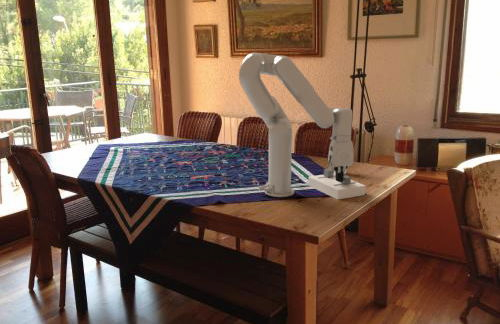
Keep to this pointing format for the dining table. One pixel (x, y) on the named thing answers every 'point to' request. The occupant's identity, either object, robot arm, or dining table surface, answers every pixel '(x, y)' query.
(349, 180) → the front switch
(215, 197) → the dining table surface
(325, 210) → the dining table surface
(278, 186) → the robot arm
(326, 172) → the back switch
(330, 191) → the switch panel
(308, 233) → the dining table surface
